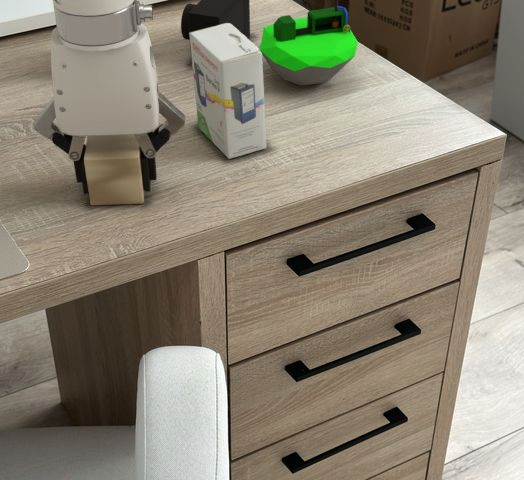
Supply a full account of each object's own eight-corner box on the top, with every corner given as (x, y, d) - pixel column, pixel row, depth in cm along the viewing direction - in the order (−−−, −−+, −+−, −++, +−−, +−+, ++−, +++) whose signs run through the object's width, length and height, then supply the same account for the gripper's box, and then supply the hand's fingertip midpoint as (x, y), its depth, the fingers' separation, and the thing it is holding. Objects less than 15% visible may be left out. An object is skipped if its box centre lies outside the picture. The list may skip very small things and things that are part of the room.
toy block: (90, 205, 99) (83, 159, 95) (94, 177, 103) (87, 131, 99) (143, 203, 99) (138, 157, 95) (145, 175, 103) (140, 129, 99)
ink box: (267, 150, 107) (266, 49, 99) (226, 161, 105) (221, 60, 97) (233, 116, 112) (230, 19, 104) (193, 127, 111) (187, 29, 103)
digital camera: (213, 31, 130) (210, -20, 125) (250, 36, 128) (249, -15, 124) (182, 63, 123) (178, 10, 118) (221, 70, 121) (219, 16, 117)
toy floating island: (333, 51, 125) (337, -33, 117) (368, 91, 117) (375, 3, 109) (246, 66, 122) (244, -20, 115) (276, 108, 114) (276, 18, 106)
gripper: (189, 0, 91) (199, 164, 104) (9, 5, 91) (40, 169, 103) (189, 34, 86) (199, 203, 98) (-3, 39, 85) (31, 209, 97)
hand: (117, 184), depth 100 cm, fingers closed on toy block, 5 cm apart
